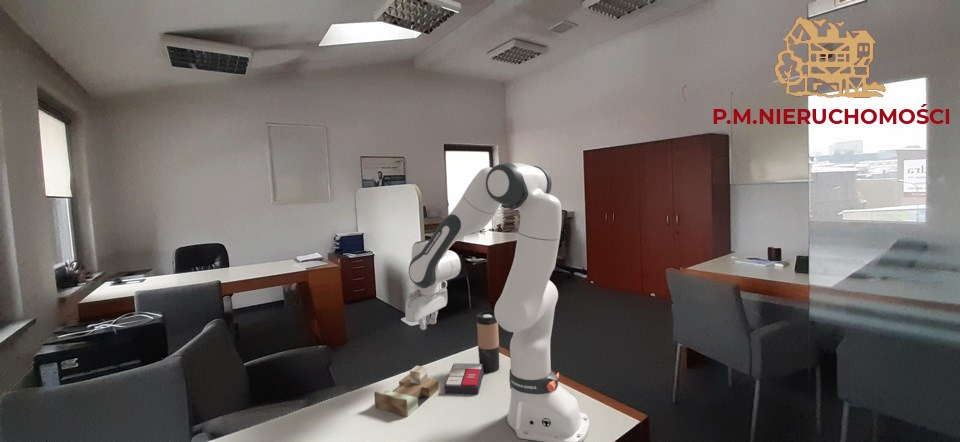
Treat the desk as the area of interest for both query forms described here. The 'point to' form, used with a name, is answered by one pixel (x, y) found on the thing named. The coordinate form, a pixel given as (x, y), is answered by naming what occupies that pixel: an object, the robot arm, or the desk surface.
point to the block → (418, 374)
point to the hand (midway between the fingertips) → (428, 326)
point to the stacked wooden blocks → (406, 396)
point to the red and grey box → (464, 379)
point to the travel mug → (488, 341)
